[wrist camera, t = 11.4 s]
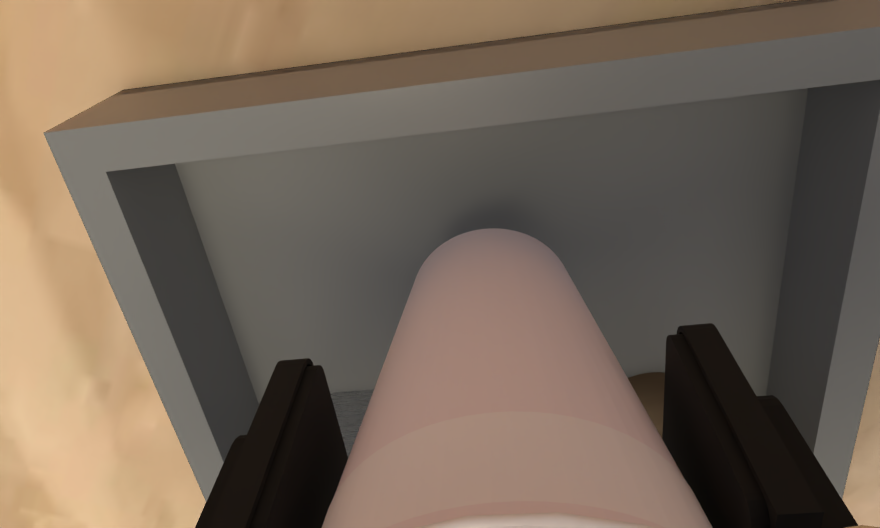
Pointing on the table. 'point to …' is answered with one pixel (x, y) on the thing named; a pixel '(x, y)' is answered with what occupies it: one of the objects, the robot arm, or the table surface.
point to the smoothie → (506, 408)
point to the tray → (504, 204)
